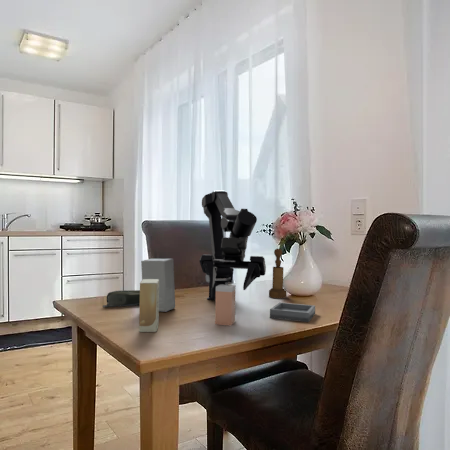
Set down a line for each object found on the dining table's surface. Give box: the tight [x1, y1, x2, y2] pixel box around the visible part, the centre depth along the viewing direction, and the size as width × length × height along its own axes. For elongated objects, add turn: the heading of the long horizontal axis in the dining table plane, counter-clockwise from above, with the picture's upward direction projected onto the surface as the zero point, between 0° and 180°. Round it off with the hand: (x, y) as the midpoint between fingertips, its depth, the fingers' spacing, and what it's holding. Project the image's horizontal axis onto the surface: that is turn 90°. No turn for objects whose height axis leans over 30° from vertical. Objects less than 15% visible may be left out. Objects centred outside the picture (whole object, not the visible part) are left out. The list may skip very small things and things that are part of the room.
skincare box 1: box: [140, 258, 176, 313], centre depth 119 cm, size 8×7×16 cm
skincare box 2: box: [138, 279, 160, 333], centre depth 97 cm, size 6×4×12 cm
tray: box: [269, 301, 316, 323], centre depth 113 cm, size 11×11×2 cm
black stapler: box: [102, 289, 140, 308], centre depth 125 cm, size 5×3×15 cm
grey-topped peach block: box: [214, 284, 236, 326], centre depth 104 cm, size 4×4×10 cm
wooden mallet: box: [268, 248, 287, 299], centre depth 144 cm, size 7×6×18 cm
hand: (227, 288), depth 105 cm, fingers open, 9 cm apart
